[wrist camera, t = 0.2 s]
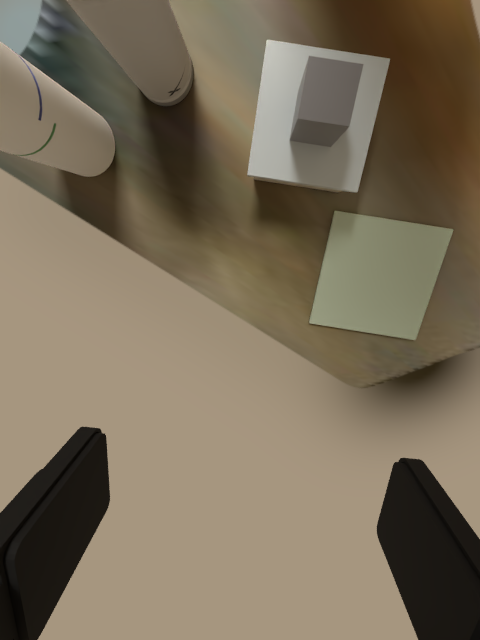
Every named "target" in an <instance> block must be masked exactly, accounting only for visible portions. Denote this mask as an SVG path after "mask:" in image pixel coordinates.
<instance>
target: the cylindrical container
mask: <svg viewBox="0 0 480 640" xmlns="http://www.w3.org/2000/svg"><path fill="white" fill-rule="evenodd" d="M0 151H3V152H7V153H10V154H13V155H16V156H19V157H23V158H26V159H29V160H32V161H36V162H39V163H42V164H45V165H49V166H52V167H55V168H58V169H61V170H65V171H68V172H71V173H74V174H78V175H81V176H85V177H93V176H97V175H100V174H101V173H103V172H104V171H106V170H107V168H108V167H109V166H110V164H111V163H112V161H113V158H114V154H115V140H114V136H113V133H112V130H111V128H110V126H109V125H108V123H107V122H106V121H105V119H104V118H103V117H102V116H101V115H99V114H98V113H97V112H95V111H94V110H93V109H91V108H90V107H89V106H87V105H86V104H85V103H83V102H82V101H81V100H79V99H78V98H77V97H75V96H74V95H72V94H71V93H70V92H68V91H67V90H66V89H64V88H63V87H62V86H60V85H59V84H58V83H56V82H55V81H53V80H52V79H51V78H49V77H48V76H47V75H45V74H44V73H43V72H41V71H40V70H39V69H37V68H36V67H34V66H33V65H32V64H30V63H29V62H28V61H26V60H25V59H24V58H22V57H21V56H20V55H18V54H17V53H15V52H14V51H13V50H11V49H10V48H9V47H7V46H6V45H4V44H3V43H2V42H0Z"/></svg>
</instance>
